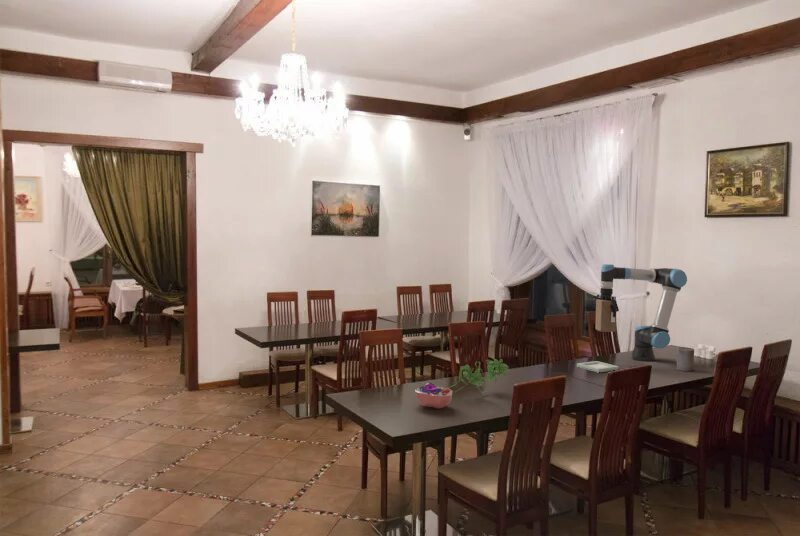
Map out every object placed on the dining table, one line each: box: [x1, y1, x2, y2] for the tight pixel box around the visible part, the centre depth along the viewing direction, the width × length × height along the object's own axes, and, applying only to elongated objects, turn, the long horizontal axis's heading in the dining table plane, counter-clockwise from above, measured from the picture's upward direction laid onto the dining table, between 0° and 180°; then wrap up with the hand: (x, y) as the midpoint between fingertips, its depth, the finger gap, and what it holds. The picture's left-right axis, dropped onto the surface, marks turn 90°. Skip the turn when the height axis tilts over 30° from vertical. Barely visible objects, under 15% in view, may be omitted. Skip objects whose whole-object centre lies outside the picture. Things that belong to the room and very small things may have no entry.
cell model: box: [414, 382, 454, 410], centre depth 283 cm, size 17×20×11 cm
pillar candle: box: [676, 346, 695, 372], centre depth 371 cm, size 10×10×15 cm
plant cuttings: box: [447, 358, 509, 397], centre depth 309 cm, size 35×17×22 cm
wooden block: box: [595, 299, 617, 333], centre depth 382 cm, size 10×10×20 cm
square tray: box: [576, 360, 620, 374], centre depth 373 cm, size 18×18×2 cm
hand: (605, 320), depth 382 cm, fingers closed on wooden block, 12 cm apart
